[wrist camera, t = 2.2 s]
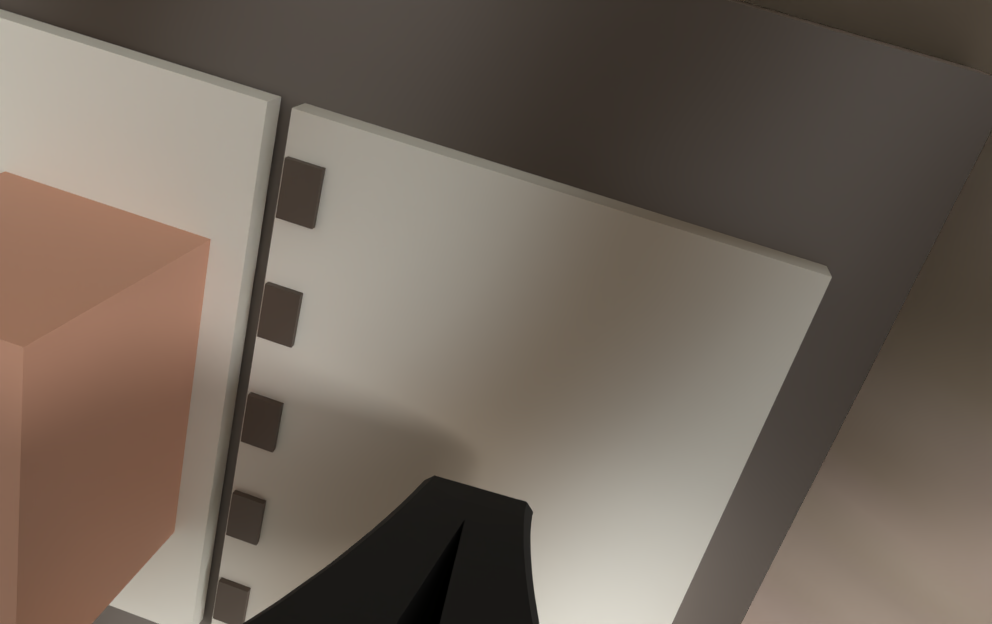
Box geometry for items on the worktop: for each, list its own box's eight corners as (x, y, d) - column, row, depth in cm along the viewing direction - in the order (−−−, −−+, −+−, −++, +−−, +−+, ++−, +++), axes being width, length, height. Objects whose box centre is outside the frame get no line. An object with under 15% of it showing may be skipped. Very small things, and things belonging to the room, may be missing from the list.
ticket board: (972, 67, 10) (1032, 90, 9) (617, 801, 16) (608, 907, 14) (-549, -371, 12) (-762, -429, 10) (-381, 427, 18) (-500, 479, 16)
